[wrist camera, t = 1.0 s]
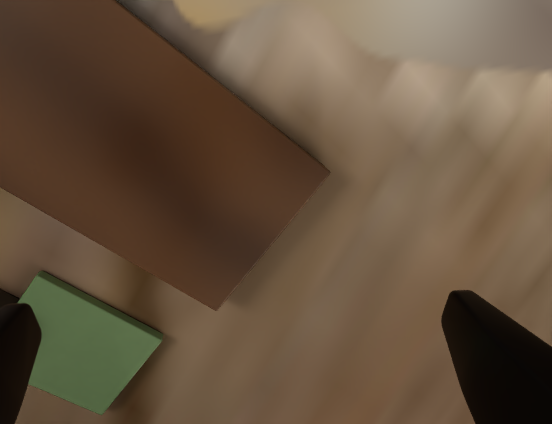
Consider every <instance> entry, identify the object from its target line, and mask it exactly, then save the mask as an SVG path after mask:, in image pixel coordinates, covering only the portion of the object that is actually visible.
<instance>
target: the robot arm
mask: <svg viewBox="0 0 552 424" xmlns="http://www.w3.org/2000/svg"><path fill="white" fill-rule="evenodd" d="M441 323H442V328H443V331H444V335H445V338H446V341H447V344H448V348H449V351H450V354H451V357H452V361H453V364H454V367H455V371H456V374H457V377H458V380H459V384H460V386H461V389H462V392H463V395H464V397H465V400H466V402H467V405H468V407H469V410H470V412H471V414H472V417H473V419H474V421H475V424H552V347H551V346H550V345H548V344H547V343H545V342H544V341H543V340H541V339H540V338H538V337H537V336H535V335H534V334H533V333H531V332H530V331H528V330H527V329H526V328H524V327H523V326H521V325H520V324H518V323H517V322H516V321H514V320H513V319H511V318H510V317H508V316H507V315H506V314H504V313H503V312H501V311H500V310H498V309H497V308H496V307H494V306H493V305H491V304H490V303H489V302H487V301H486V300H484V299H483V298H481V297H480V296H479V295H477V294H476V293H474V292H473V291H470V290H454V291H452V292H451V293H450V294H449V296H448V299H447V302H446V305H445V308H444V311H443V314H442V319H441ZM41 338H42V332H41V328H40V326H39V323H38V321H37V319H36V316H35V314H34V312H33V310H32V308H31V306H30V305H29V304H26V303H15V304H6V305H4V306H3V307H1V308H0V424H15V421H16V419H17V416H18V414H19V411H20V408H21V405H22V402H23V399H24V396H25V392H26V389H27V386H28V383H29V379H30V376H31V373H32V369H33V366H34V363H35V359H36V356H37V353H38V350H39V346H40V343H41Z"/></svg>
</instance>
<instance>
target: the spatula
mask: <svg viewBox="0 0 552 424" xmlns="http://www.w3.org/2000/svg"><path fill="white" fill-rule="evenodd" d="M15 303H26V304H29V305H30V306H31V308H32V310H33V312H34V314H35V316H36V319H37V321H38V323H39V326H40V328H41V332H42V338H41V343H40V346H39V350H38V353H37V356H36V359H35V363H34V366H33V369H32V373H31V376H30V379H29V383H28V384H29V385H32V386H34V387H36V388H39V389H41V390H43V391H46V392H48V393H51V394H53V395H55V396H58V397H60V398H62V399H65V400H67V401H69V402H72V403H74V404H76V405H79V406H81V407H83V408H86V409H88V410H90V411H93V412H95V413H97V414H100V415H103V413H104V412H105V411H106V410H107V408H108V407H109V406H110V405H111V403H112V402H113V401H114V400H115V398H116V397H117V396H118V395H119V393H120V392H121V391H122V390H123V389H124V387H125V386H126V385H127V384H128V382H129V381H130V380H131V379H132V377H133V376H134V375H135V374H136V372H137V371H138V370H139V369H140V367H141V366H142V365H143V364H144V362H145V361H146V360H147V359H148V357H149V356H150V355H151V354H152V352H153V351H154V350H155V349H156V348H157V346H158V345H159V344H160V343H161V341H162V338H163V334H162V333H160V332H158V331H156V330H154V329H152V328H150V327H148V326H147V325H145V324H143V323H141V322H139V321H137V320H135V319H133V318H131V317H129V316H128V315H126V314H124V313H122V312H120V311H118V310H116V309H114V308H112V307H110V306H108V305H107V304H105V303H103V302H101V301H99V300H97V299H95V298H93V297H91V296H89V295H87V294H86V293H84V292H82V291H80V290H78V289H76V288H74V287H72V286H70V285H68V284H67V283H65V282H63V281H61V280H59V279H57V278H55V277H53V276H51V275H49V274H47V273H46V272H44V271H40V272H39V273H38V274H37V275H36V277H35V278H34V279H33V281H32V282H31V284H30V285H29V287H28V288H27V290H26V291H25V292H24V294H23V295H22V297H21V298H20V300H19V299H18V298H16V297H14V296H12V295H10V294H8V293H6V292H4V291H2V290H0V308H1V307H3V306H4V305H6V304H15Z"/></svg>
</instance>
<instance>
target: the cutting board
mask: <svg viewBox="0 0 552 424" xmlns="http://www.w3.org/2000/svg"><path fill="white" fill-rule="evenodd" d="M329 174H330V171H329V170H328V169H327V168H326V167H325V166H324V165H323V164H321V163H320V162H319V161H318V160H316V159H315V158H314V157H313V156H311V155H310V154H309V153H307V152H306V151H305V150H304V149H302V148H301V147H300V146H299V145H297V144H296V143H295V142H294V141H292V140H291V139H290V138H289V137H287V136H286V135H285V134H284V133H282V132H281V131H280V130H279V129H277V128H276V127H275V126H274V125H272V124H271V123H270V122H269V121H267V120H266V119H265V118H264V117H262V116H261V115H260V114H259V113H257V112H256V111H255V110H253V109H252V108H251V107H250V106H248V105H247V104H246V103H245V102H243V101H242V100H241V99H240V98H238V97H237V96H236V95H235V94H233V93H232V92H231V91H230V90H228V89H227V88H226V87H225V86H223V85H222V84H221V83H220V82H218V81H217V80H216V79H215V78H213V77H212V76H211V75H210V74H208V73H207V72H206V71H204V70H203V69H202V68H201V67H199V66H198V65H197V64H196V63H194V62H193V61H192V60H191V59H189V58H188V57H187V56H186V55H184V54H183V53H182V52H181V51H179V50H178V49H177V48H176V47H174V46H173V45H172V44H171V43H169V42H168V41H167V40H166V39H164V38H163V37H162V36H161V35H159V34H158V33H157V32H156V31H154V30H153V29H152V28H150V27H149V26H148V25H147V24H145V23H144V22H143V21H142V20H140V19H139V18H138V17H137V16H135V15H134V14H133V13H132V12H130V11H129V10H128V9H127V8H125V7H124V6H123V5H122V4H120V3H119V2H118V1H117V0H0V187H1V188H2V189H4V190H6V191H8V192H9V193H11V194H13V195H15V196H16V197H18V198H20V199H22V200H23V201H25V202H27V203H29V204H30V205H32V206H34V207H36V208H37V209H39V210H41V211H43V212H44V213H46V214H48V215H50V216H51V217H53V218H55V219H57V220H58V221H60V222H62V223H64V224H65V225H67V226H69V227H70V228H72V229H74V230H76V231H77V232H79V233H81V234H83V235H84V236H86V237H88V238H90V239H91V240H93V241H95V242H97V243H98V244H100V245H102V246H104V247H105V248H107V249H109V250H111V251H112V252H114V253H116V254H118V255H119V256H121V257H123V258H125V259H126V260H128V261H130V262H132V263H133V264H135V265H137V266H138V267H140V268H142V269H144V270H145V271H147V272H149V273H151V274H152V275H154V276H156V277H158V278H159V279H161V280H163V281H165V282H166V283H168V284H170V285H172V286H173V287H175V288H177V289H179V290H180V291H182V292H184V293H186V294H187V295H189V296H191V297H193V298H194V299H196V300H198V301H200V302H201V303H203V304H205V305H206V306H208V307H210V308H212V309H213V310H215V311H217V310H218V309H219V308H220V307H221V305H222V304H223V303H224V302H225V301H226V299H227V298H228V297H229V296H230V295H231V293H232V292H233V291H234V290H235V288H236V287H237V286H238V285H239V284H240V282H241V281H242V280H243V279H244V278H245V276H246V275H247V274H248V273H249V271H250V270H251V269H252V268H253V267H254V265H255V264H256V263H257V262H258V261H259V259H260V258H261V257H262V256H263V255H264V253H265V252H266V251H267V250H268V248H269V247H270V246H271V245H272V244H273V242H274V241H275V240H276V239H277V238H278V236H279V235H280V234H281V233H282V231H283V230H284V229H285V228H286V227H287V225H288V224H289V223H290V222H291V221H292V219H293V218H294V217H295V216H296V214H297V213H298V212H299V211H300V210H301V208H302V207H303V206H304V205H305V204H306V202H307V201H308V200H309V199H310V198H311V196H312V195H313V194H314V193H315V191H316V190H317V189H318V188H319V187H320V185H321V184H322V183H323V182H324V181H325V179H326V178H327V177H328V176H329Z"/></svg>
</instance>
